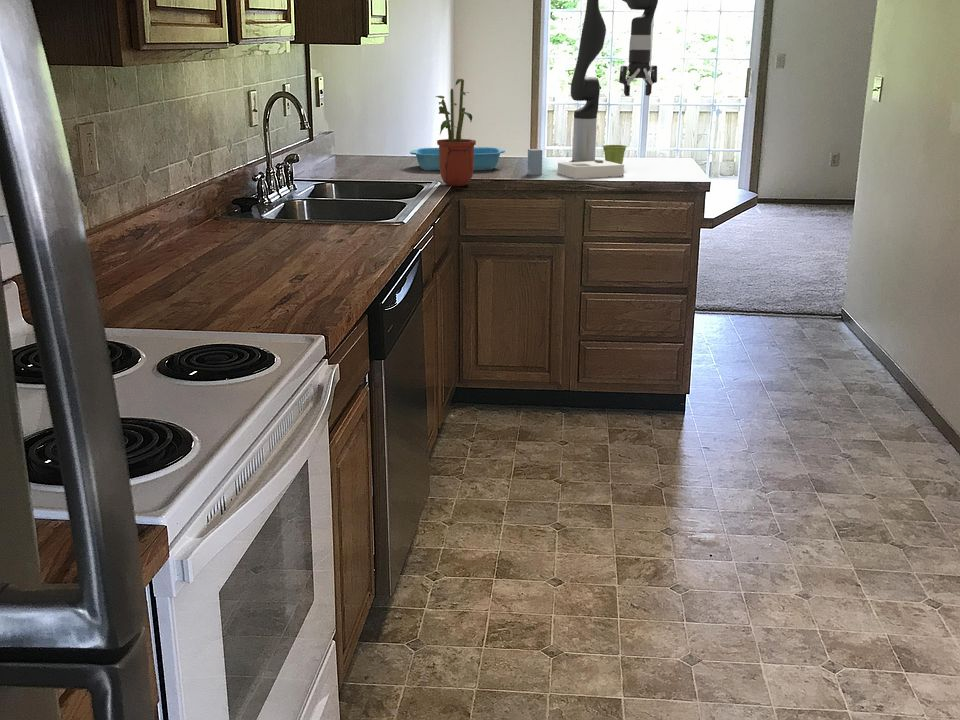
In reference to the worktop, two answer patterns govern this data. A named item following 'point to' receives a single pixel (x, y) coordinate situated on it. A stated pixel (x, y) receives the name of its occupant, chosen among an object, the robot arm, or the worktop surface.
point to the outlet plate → (590, 169)
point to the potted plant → (455, 146)
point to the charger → (534, 162)
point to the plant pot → (614, 153)
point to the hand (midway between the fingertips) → (637, 95)
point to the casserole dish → (482, 158)
